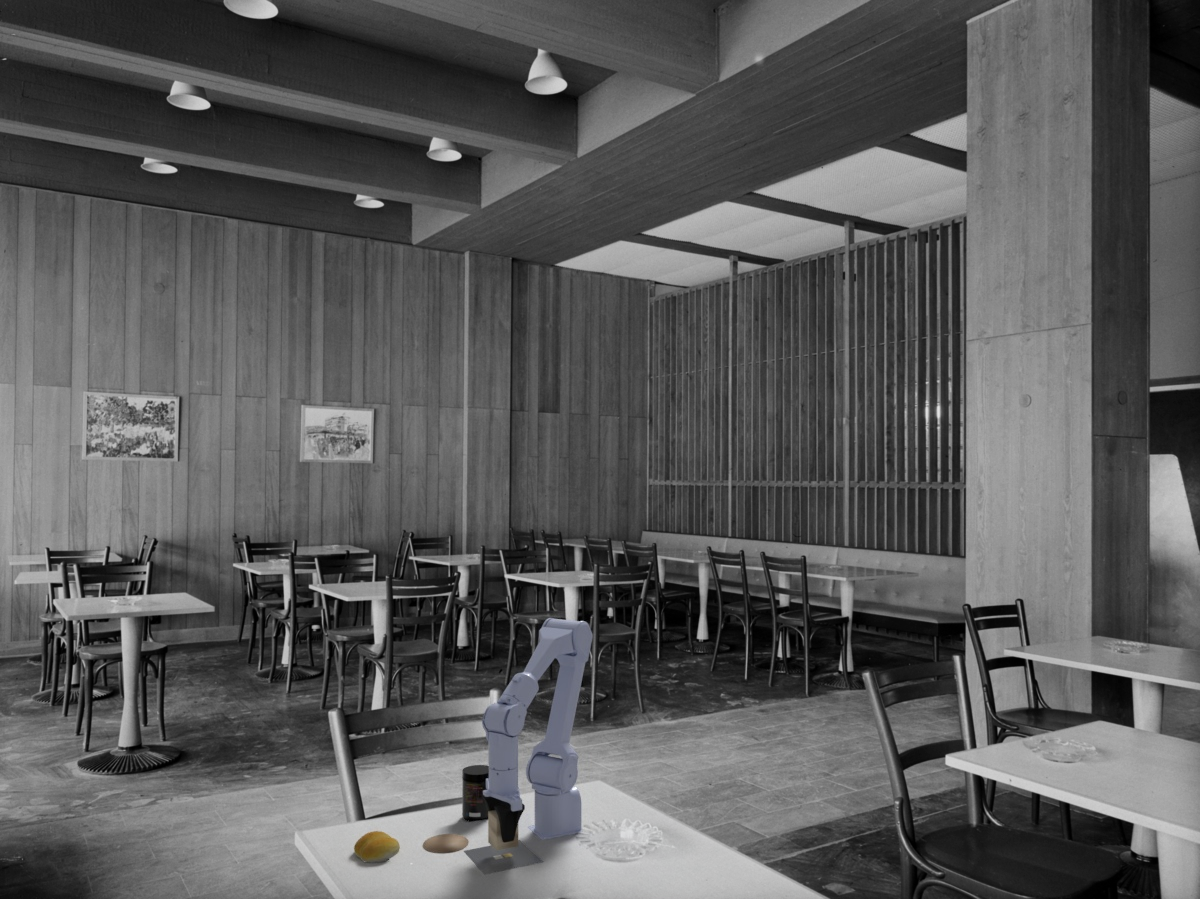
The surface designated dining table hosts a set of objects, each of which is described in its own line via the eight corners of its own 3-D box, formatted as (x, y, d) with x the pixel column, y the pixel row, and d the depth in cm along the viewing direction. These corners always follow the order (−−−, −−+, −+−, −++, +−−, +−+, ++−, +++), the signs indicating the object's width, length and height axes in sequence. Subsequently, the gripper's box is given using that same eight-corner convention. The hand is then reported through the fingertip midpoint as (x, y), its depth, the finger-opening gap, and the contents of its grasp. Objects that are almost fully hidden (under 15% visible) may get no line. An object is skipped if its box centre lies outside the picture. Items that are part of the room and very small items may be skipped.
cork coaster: (460, 834, 190) (460, 831, 190) (474, 850, 182) (474, 846, 182) (417, 842, 185) (417, 838, 185) (430, 859, 177) (430, 855, 177)
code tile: (520, 842, 186) (520, 839, 186) (543, 864, 175) (543, 861, 175) (463, 853, 180) (463, 850, 180) (484, 877, 169) (484, 874, 169)
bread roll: (369, 868, 174) (369, 847, 174) (348, 853, 181) (348, 833, 181) (408, 856, 179) (408, 835, 180) (386, 842, 186) (386, 822, 186)
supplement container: (494, 811, 203) (494, 764, 203) (492, 823, 196) (492, 774, 196) (463, 812, 202) (463, 765, 203) (460, 824, 196) (460, 775, 196)
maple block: (509, 837, 181) (509, 807, 181) (518, 846, 177) (518, 814, 177) (488, 842, 179) (488, 811, 179) (496, 850, 175) (496, 819, 175)
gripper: (471, 758, 183) (471, 827, 182) (497, 780, 170) (497, 854, 169) (504, 753, 186) (504, 821, 185) (532, 774, 173) (532, 846, 173)
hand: (503, 836), depth 178 cm, fingers closed on maple block, 4 cm apart
